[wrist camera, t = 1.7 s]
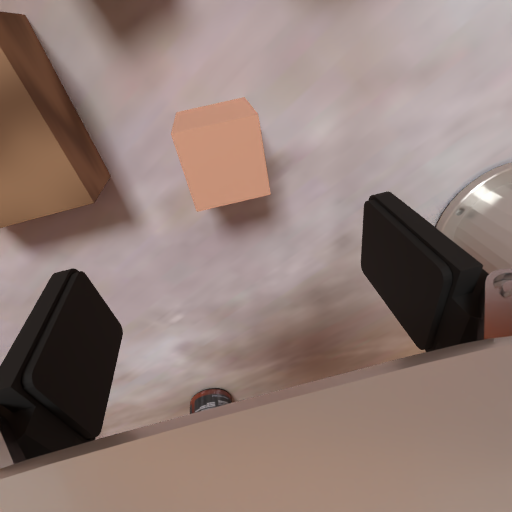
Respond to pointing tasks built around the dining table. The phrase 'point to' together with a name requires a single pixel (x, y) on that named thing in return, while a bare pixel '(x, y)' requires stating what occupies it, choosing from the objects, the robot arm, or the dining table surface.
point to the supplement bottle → (209, 400)
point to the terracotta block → (221, 153)
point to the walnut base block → (40, 134)
